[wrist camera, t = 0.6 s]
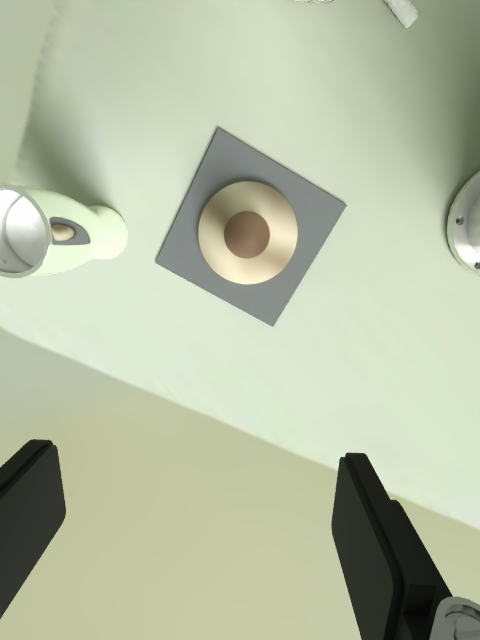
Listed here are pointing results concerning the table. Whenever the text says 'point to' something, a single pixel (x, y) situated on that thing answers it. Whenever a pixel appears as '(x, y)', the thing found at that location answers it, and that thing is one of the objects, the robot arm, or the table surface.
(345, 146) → the table surface
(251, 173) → the mat
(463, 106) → the table surface
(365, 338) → the table surface
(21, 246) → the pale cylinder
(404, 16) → the lung model
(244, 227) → the lid
